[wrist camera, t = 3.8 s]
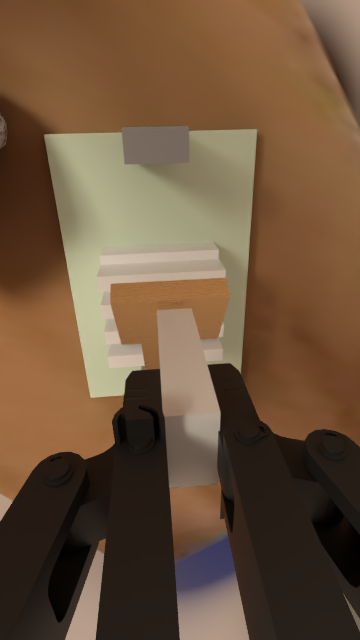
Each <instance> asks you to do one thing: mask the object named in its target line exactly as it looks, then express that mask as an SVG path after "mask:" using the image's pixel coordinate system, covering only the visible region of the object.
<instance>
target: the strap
mask: <svg viewBox="0 0 360 640" xmlns="http://www.w3.org/2000/svg"><path fill="white" fill-rule="evenodd" d="M229 299H230V294H229V289H228V283H227V278H209V279H190V280H172V281H153V282H135V283H116V284H111V286H110V305H111V308H112V312H113V315H114V319H115V322H116V326H117V330H118V333H119V337H120V340H121V344H122V345H125V344H140V343H141V345H142V351H143V358H144V364H145V370H150V369H160V358H159V341H158V324H157V310H168V309H185V308H192V311H193V315H194V318H195V322H196V326H197V329H198V333H199V336H200V339H215V338H218V337H219V333H220V330H221V326H222V323H223V319H224V316H225V313H226V309H227V306H228V302H229Z"/></svg>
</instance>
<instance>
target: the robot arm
mask: <svg viewBox="0 0 360 640" xmlns="http://www.w3.org/2000/svg"><path fill="white" fill-rule="evenodd" d="M157 324H158V341H159V358H160V369H150V370H136V371H132V372H131V373H130V374H129V376H128V377H127V379H126V380H125V392H124V401H123V408H121V409H120V410H119V411H118V412H117V413H116V414H115V415H114V418H113V420H112V425H113V431H114V438H115V444H114V445H113V446H112V447H111V448H110V449H108V450H107V451H105V452H103V453H101V454H99V455H97V456H94V457H91V458H88V459H85V460H84V459H83V458H82V457H81V456H80V455H79V454H75V453H72V452H60V453H57V454H54V455H51V456H49V457H47V458H46V459H44V460H43V461H41V462H40V463H39V464H38V465H37V466H36V467H35V469H34V470H33V471H32V472H31V474H30V476H29V477H28V479H27V480H26V482H25V484H24V485H23V487H22V488H21V490H20V491H19V493H18V495H17V496H16V498H15V499H14V501H13V502H12V504H11V506H10V507H9V509H8V510H7V512H6V513H5V515H4V517H3V518H2V520H1V521H0V640H65V638H66V635H67V632H68V629H69V627H70V624H71V621H72V618H73V615H74V612H75V610H76V607H77V604H78V601H79V598H80V595H81V593H82V590H83V587H84V584H85V581H86V578H87V576H88V573H89V569H90V567H91V564H92V561H93V559H94V556H95V553H96V550H97V547H98V544H99V541H101V540H103V539H105V538H106V544H105V553H104V563H103V573H102V583H101V593H100V602H99V613H98V622H97V632H96V640H180V638H179V624H178V609H177V594H176V579H175V564H174V550H173V535H172V520H171V506H170V491H169V488H178V487H189V486H200V485H211V484H218V474H219V479H220V484H221V510H220V519H224V518H225V523H226V528H227V532H228V537H229V542H230V547H231V552H232V557H233V561H234V567H235V571H236V576H237V581H238V586H239V591H240V596H241V600H242V605H243V610H244V615H245V620H246V625H247V630H248V634H249V640H360V631H359V629H358V627H357V625H356V622H355V620H354V618H353V615H352V613H351V611H350V609H349V606H348V604H347V602H346V600H345V597H346V598H347V600H348V601H349V603H350V604H351V606H352V607H353V609H354V610H355V612H356V613H357V615H358V616H359V618H360V447H359V446H358V445H357V444H356V443H355V442H354V441H352V440H351V439H350V438H348V437H347V436H345V435H343V434H341V433H339V432H336V431H332V430H326V429H323V430H315V431H313V432H311V433H310V434H308V436H307V438H306V439H305V441H302V440H296V439H290V438H285V437H282V436H279V435H276V434H274V433H273V432H272V431H271V429H270V428H269V427H268V425H266V424H265V423H263V422H262V421H260V420H259V417H258V415H257V413H256V410H255V408H254V405H253V403H252V400H251V398H250V396H249V393H248V391H247V389H246V386H245V383H244V382H243V379H242V376H241V374H240V371H239V370H238V369H237V368H235V367H234V366H233V365H232V364H231V363H223V364H209V365H207V362H206V358H205V354H204V351H203V347H202V344H201V340H200V336H199V333H198V329H197V326H196V322H195V318H194V315H193V311H192V308H185V309H168V310H157ZM343 594H344V595H345V597H344V595H343Z"/></svg>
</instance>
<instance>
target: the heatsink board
mask: <svg viewBox="0 0 360 640" xmlns="http://www.w3.org/2000/svg"><path fill="white" fill-rule="evenodd" d="M121 130H122V132H119V133H77V134H44V138H45V144H46V150H47V155H48V161H49V167H50V172H51V178H52V183H53V189H54V195H55V200H56V206H57V211H58V217H59V223H60V228H61V234H62V240H63V245H64V251H65V256H66V262H67V268H68V273H69V279H70V284H71V290H72V296H73V301H74V307H75V313H76V318H77V324H78V329H79V335H80V341H81V346H82V352H83V357H84V363H85V369H86V374H87V380H88V386H89V391H90V397H91V398H93V397H106V396H119V395H124V392H125V380H126V379H127V377H128V376H129V374H130V373H131V372H132V371H136V370H145V364H144V358H143V351H142V345H141V343H140V344H125V345H122V344H121V340H120V337H119V333H118V330H117V326H116V322H115V319H114V315H113V312H112V308H111V305H110V286H111V284H116V283H135V282H153V281H172V280H190V279H209V278H227V283H228V289H229V294H230V299H229V302H228V306H227V309H226V313H225V316H224V319H223V323H222V326H221V330H220V333H219V337H218V338H215V339H200V340H201V344H202V347H203V351H204V354H205V358H206V362H207V365H209V364H223V363H231V364H232V365H233V366H234V367H235V368H237V369H238V370H239V371H240V374H241V363H242V348H243V333H244V318H245V303H246V288H247V273H248V258H249V244H250V229H251V214H252V199H253V184H254V169H255V154H256V139H257V129H243V130H202V131H189V126H154V127H121Z"/></svg>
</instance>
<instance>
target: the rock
mask: <svg viewBox="0 0 360 640" xmlns="http://www.w3.org/2000/svg"><path fill="white" fill-rule="evenodd" d="M6 126H7V125H6V122H5V120H4V118H3V116H2V114H1V113H0V149H1V148H2V147H4V146H5V145H6V140H7V128H6Z"/></svg>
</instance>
